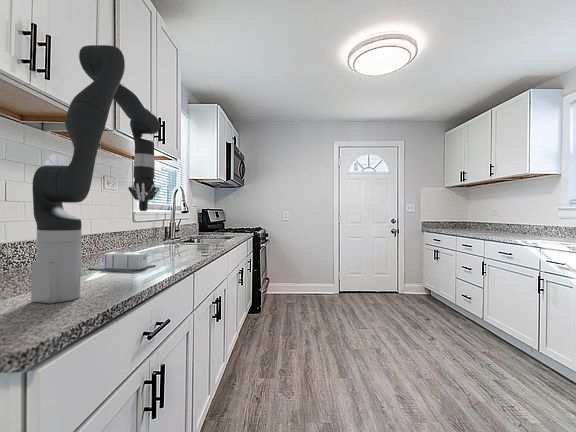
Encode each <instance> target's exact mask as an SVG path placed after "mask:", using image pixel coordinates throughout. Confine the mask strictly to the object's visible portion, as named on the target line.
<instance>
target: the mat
mask: <svg viewBox="0 0 576 432" xmlns="http://www.w3.org/2000/svg"><path fill="white" fill-rule="evenodd" d="M153 267H156V264H149V263H147V267H145V268H142V269H112V268H104V265H96V266H93V267H87V270H88V269H94V270H93V271H101V270H105V271H104V272H114V271H116V272H117V273H132V272H137V271H140V270H144V269H146V270H147V269H150V268H153Z"/></svg>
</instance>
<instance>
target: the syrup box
mask: <svg viewBox="0 0 576 432" xmlns="http://www.w3.org/2000/svg"><path fill="white" fill-rule="evenodd" d="M102 258H103V259H102V260H103V261H102V262H103V265H104V268H112V269H141V270H143V269H142V268H145V267H147V264H148V252H132V251H131V252H128V251H111V252H107V253H104V254H103V257H102Z"/></svg>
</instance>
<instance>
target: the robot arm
mask: <svg viewBox="0 0 576 432" xmlns="http://www.w3.org/2000/svg"><path fill="white" fill-rule="evenodd" d="M78 59H79V63H80V66H81V68H82V70H83V71H84V73H85V74H86V75H87V76H88V77H89V78H90V79H91V80H92V82H91V83H89V85H87V86H85V88H83V89H82V90H81V91H80V92H79V93H77V94H76V95H75V96H74V97H73V99H72V100H71V101H70V104H69V107H68V109H67V112H66V115H65V119H64V125H65V129H66V132H67V135H68V136H69V138H70V141H71V142H72V145H73V146H72V147H73V154H72V158H71V160H70V163H69V164H68V165H57V164H56V165H55V164H54V165H52V164H51V165H50V164H49V165H41V166H39V167H37V169H36V171H35V172H34V174H33V177H32V185H31V186H32V203H33V207H32V209H33V217H34V220H35V222H36V246H35V247H36V249H35V250H36V252H35V253H36V256H35V258H36V259H35V261H32V263H31V282H30V283H31V287H30V288H31V290H30V291H31V292H30V295H31V296H30V299H31V300H30V301H31V302H32V303H33V302H35V303H43V304H55V303H60V302H68V301H72V300H76V299H78V298H80V297H81V277H82V276H81V275H82V273H81V269H82V267H81V265H82V261H81V260H82V220H81V218H79V217H76V216H75V215H72V214H70V213H68V211H66V210H65V209H64V206H63V203H67V204H68V203H69V204H71V203H72V204H73V203H81V202H83V201H84V200H85V199H86V198H87V197H88V195H89V192H90V190H91V186H92V181H93V175H94V169H95V165H96V158H97V155H98V150H99V146H100V142H101V140H102V138H103V134H104V131H105V128H106V126H107V122H108V117H109V114H110V109H111V106H112V103H113V101H114V102H116V103H117V104H118V106H119V107H120V108H121V110H122V111H123V112H124V114H125V115H126V116H127V117H128V118H129V120H130V121H129V125H130V126H129V127H130V130H131V133H132V136H133V141H134V142H133V143H134V156H133V175H132V176H133V178H134V181H133V183H132V184H133V185H131V186H128V188H127V189H128V191H129V192H130V194H131V195H132V197H133V199H134V200H137V201H138V209H139V212H147V210H148V205H149V204H148V202H149V201H153V199H154V198H155V196H156V195H157V193H158V192H159V190H160V187H159V186H157V185H155V181H154V180H155V169H156V168H155V162H156V161H155V143H154V141H153V140H151V139H147V138H144V137H143V135H145V134H146V135H155V134H157V133H158V132H159V131H160V128H161V125H160V124H161V123H160V121H159V119H158V117H157V116H156V115H155V114H154V113H153V112H152V111H151V110H150V109H148V108H147V107H145V106H144V104H143V102H142V101H141V100H140V98H139V97H138V95H137V94H136V93H135V92H134V91H132V90H131V89H130V88H129V87H127V86H125V85H123V83H121V81H122V79H123V78H124V75H125V71H126V70H125V69H126V59H125V55H124V53H123V52H122V50H121V49H120V48H119V47H117V46H114V45H109V44H108V45H107V44H103V45H102V44H99V45H98V44H93V45H91V44H90V45H84V46H82V47H81V48H80V49H79V53H78Z"/></svg>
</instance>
